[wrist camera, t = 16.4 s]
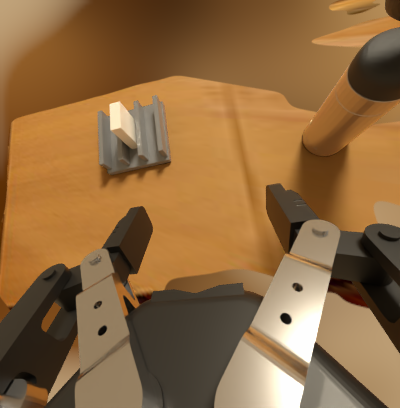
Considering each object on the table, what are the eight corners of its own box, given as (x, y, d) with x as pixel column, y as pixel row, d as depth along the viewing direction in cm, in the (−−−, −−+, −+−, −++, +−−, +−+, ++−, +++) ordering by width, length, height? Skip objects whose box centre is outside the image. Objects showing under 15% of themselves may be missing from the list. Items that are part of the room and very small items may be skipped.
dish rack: (171, 161, 48) (164, 153, 43) (111, 175, 51) (98, 168, 46) (164, 105, 52) (157, 91, 47) (108, 120, 54) (96, 108, 50)
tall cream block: (140, 147, 49) (120, 127, 40) (131, 149, 49) (110, 130, 41) (139, 125, 50) (119, 101, 42) (130, 127, 51) (109, 104, 42)
